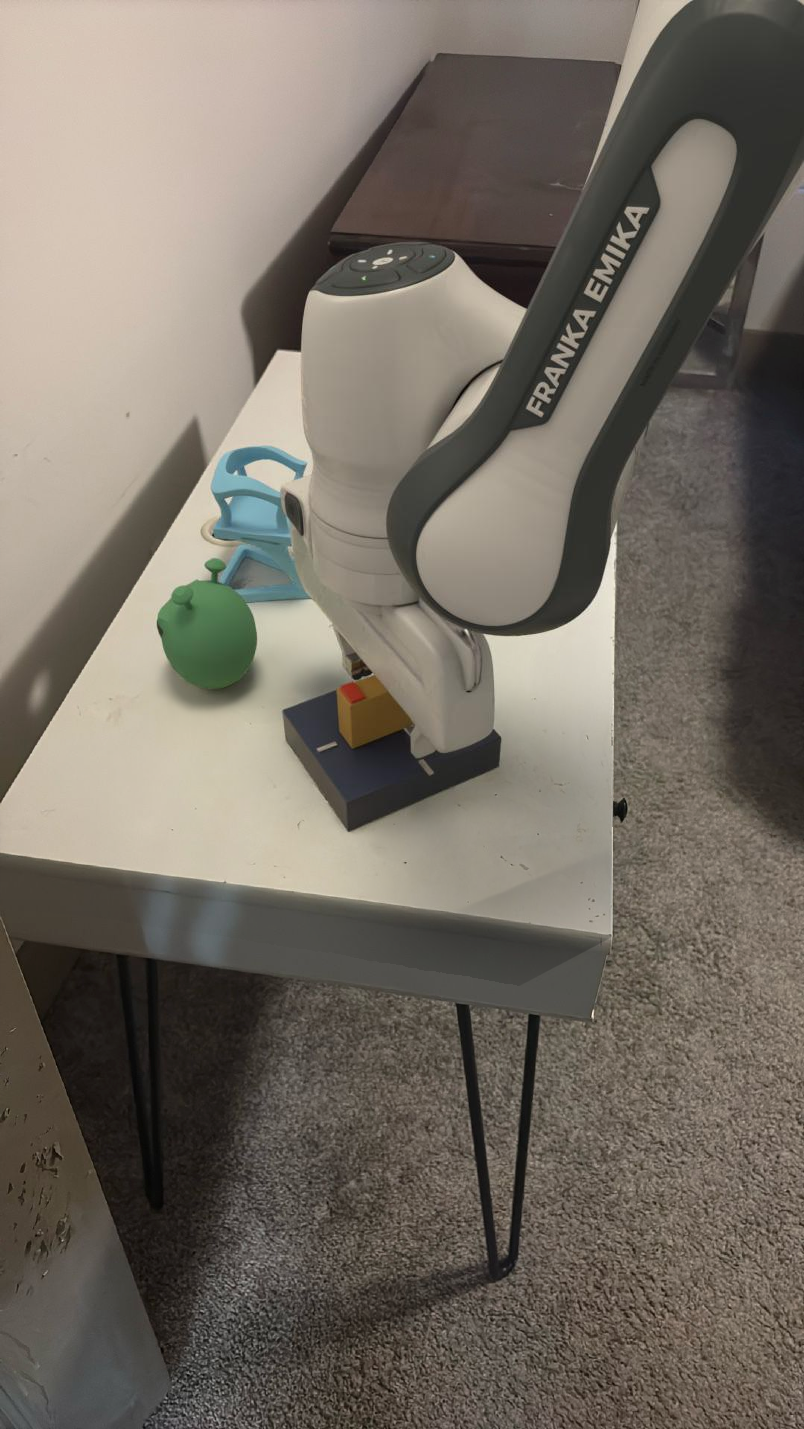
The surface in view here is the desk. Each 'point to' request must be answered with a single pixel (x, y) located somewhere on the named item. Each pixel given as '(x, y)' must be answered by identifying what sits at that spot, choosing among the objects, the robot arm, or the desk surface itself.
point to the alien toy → (208, 631)
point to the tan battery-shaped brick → (368, 712)
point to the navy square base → (376, 764)
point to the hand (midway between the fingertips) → (388, 709)
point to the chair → (256, 520)
